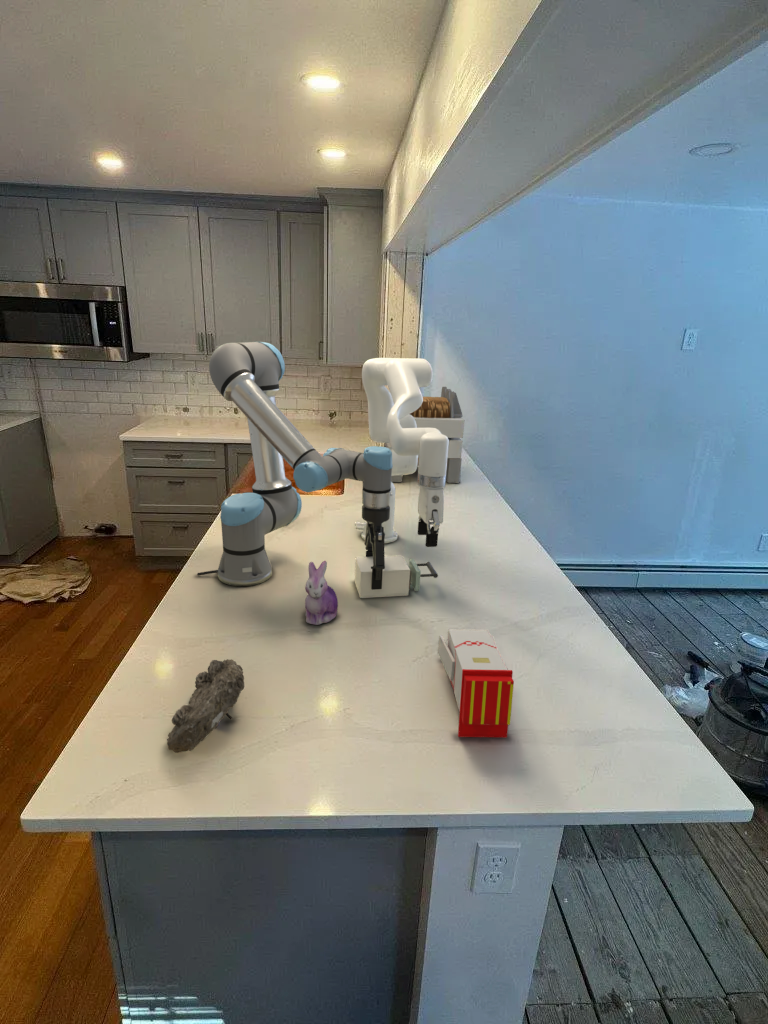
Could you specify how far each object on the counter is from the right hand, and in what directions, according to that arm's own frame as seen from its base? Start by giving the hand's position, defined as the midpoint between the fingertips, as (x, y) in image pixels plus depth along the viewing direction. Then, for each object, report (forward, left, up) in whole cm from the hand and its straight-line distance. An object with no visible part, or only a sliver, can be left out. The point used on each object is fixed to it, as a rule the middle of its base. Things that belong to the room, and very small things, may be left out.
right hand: (427, 540), depth 158 cm
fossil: (-26, -68, -14) cm, 74 cm away
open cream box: (-11, -6, -14) cm, 19 cm away
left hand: (-13, -7, -12) cm, 19 cm away
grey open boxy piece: (-29, +116, -14) cm, 120 cm away
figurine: (-21, -26, -14) cm, 36 cm away
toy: (+20, -43, -14) cm, 50 cm away
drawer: (-5, -3, -14) cm, 15 cm away
